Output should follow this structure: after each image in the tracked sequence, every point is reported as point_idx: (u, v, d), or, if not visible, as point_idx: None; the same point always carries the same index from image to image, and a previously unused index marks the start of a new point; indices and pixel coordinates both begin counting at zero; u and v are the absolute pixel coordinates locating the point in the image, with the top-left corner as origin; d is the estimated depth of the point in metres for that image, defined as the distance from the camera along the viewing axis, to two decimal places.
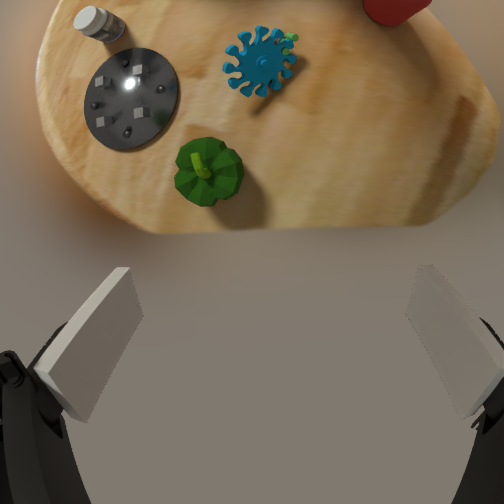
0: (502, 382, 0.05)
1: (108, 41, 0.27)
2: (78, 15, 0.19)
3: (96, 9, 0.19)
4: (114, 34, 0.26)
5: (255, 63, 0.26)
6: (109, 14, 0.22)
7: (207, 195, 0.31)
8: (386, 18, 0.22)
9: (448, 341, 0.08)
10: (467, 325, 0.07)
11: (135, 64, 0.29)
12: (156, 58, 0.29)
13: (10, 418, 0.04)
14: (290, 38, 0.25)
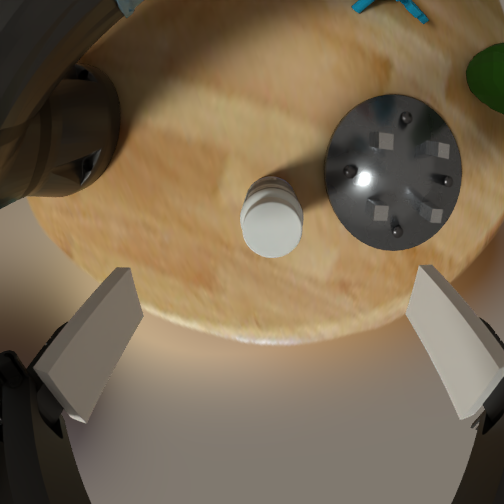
0: (502, 382, 0.05)
1: None
2: (258, 246, 0.19)
3: (261, 203, 0.17)
4: (291, 188, 0.23)
5: None
6: (263, 187, 0.20)
7: None
8: None
9: (448, 341, 0.08)
10: (467, 325, 0.07)
11: (358, 153, 0.22)
12: (356, 117, 0.21)
13: (10, 418, 0.04)
14: None
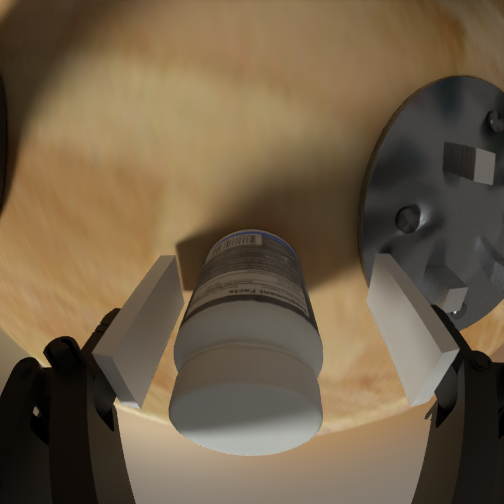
0: (450, 369, 0.06)
1: None
2: (213, 444, 0.06)
3: (210, 381, 0.05)
4: (294, 260, 0.11)
5: None
6: (225, 290, 0.08)
7: None
8: None
9: (398, 326, 0.09)
10: (413, 309, 0.08)
11: (424, 183, 0.10)
12: (424, 112, 0.09)
13: (61, 408, 0.05)
14: None
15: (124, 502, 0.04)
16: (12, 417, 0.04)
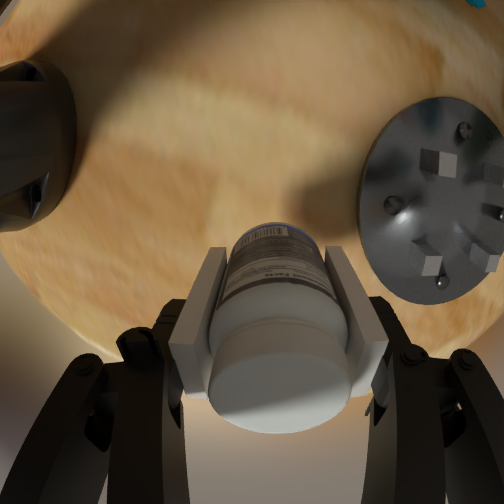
0: (382, 361, 0.07)
1: None
2: (246, 422, 0.07)
3: (254, 353, 0.06)
4: (318, 251, 0.12)
5: None
6: (260, 274, 0.09)
7: None
8: None
9: None
10: (347, 299, 0.09)
11: (405, 179, 0.15)
12: (404, 127, 0.14)
13: (130, 404, 0.05)
14: None
15: None
16: (64, 420, 0.04)
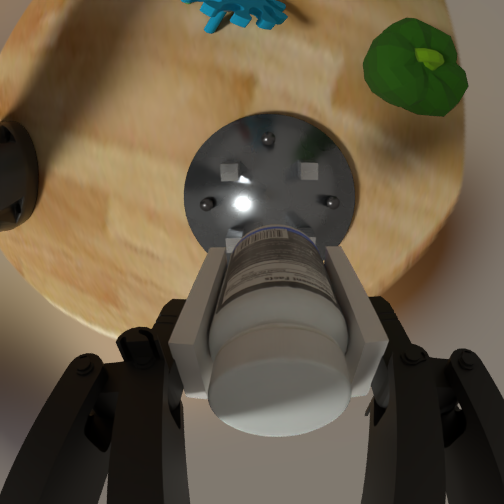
0: (382, 361, 0.07)
1: None
2: (246, 425, 0.07)
3: (254, 358, 0.06)
4: (318, 254, 0.12)
5: None
6: (260, 278, 0.09)
7: (456, 69, 0.12)
8: None
9: None
10: (347, 299, 0.09)
11: (214, 185, 0.24)
12: (210, 149, 0.23)
13: (130, 403, 0.05)
14: None
15: None
16: (64, 420, 0.04)
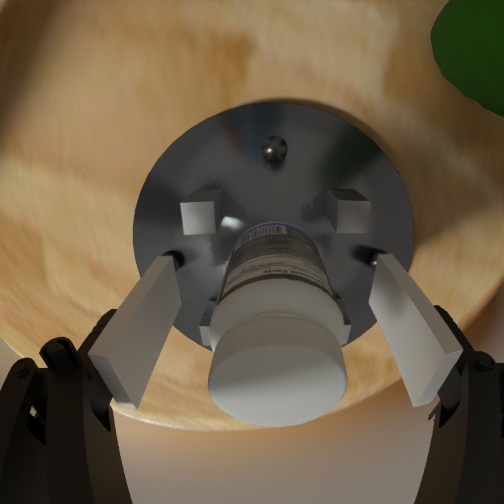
0: (454, 369, 0.06)
1: None
2: (245, 414, 0.07)
3: (252, 345, 0.06)
4: (316, 249, 0.12)
5: None
6: (259, 271, 0.09)
7: None
8: None
9: (401, 327, 0.09)
10: (416, 310, 0.08)
11: (180, 231, 0.14)
12: (169, 168, 0.13)
13: (57, 409, 0.05)
14: None
15: (121, 502, 0.04)
16: (9, 417, 0.04)
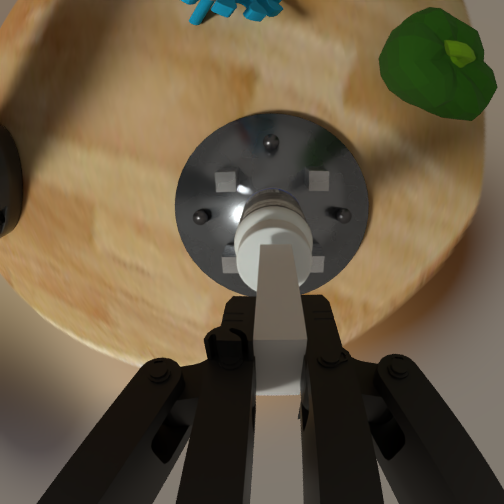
0: (303, 360, 0.07)
1: None
2: (256, 283, 0.15)
3: (261, 229, 0.14)
4: (297, 203, 0.19)
5: None
6: (263, 205, 0.16)
7: (484, 67, 0.09)
8: None
9: None
10: (278, 296, 0.09)
11: (209, 195, 0.21)
12: (204, 153, 0.20)
13: (213, 406, 0.05)
14: None
15: None
16: (130, 433, 0.04)
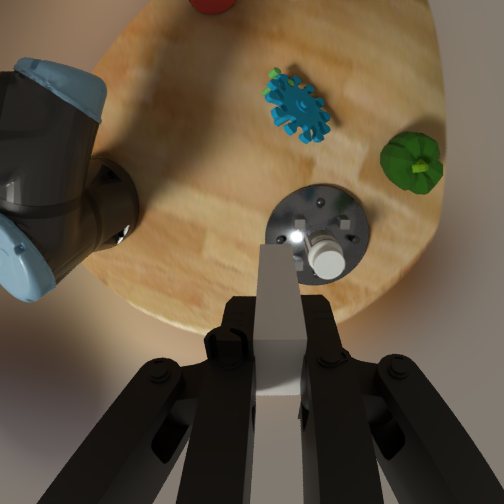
0: (303, 360, 0.07)
1: None
2: (321, 273, 0.33)
3: (325, 251, 0.32)
4: (333, 234, 0.38)
5: (303, 112, 0.29)
6: (321, 238, 0.35)
7: (436, 165, 0.27)
8: None
9: None
10: (278, 296, 0.09)
11: (286, 228, 0.40)
12: (284, 206, 0.38)
13: (213, 406, 0.05)
14: (278, 74, 0.28)
15: None
16: (130, 434, 0.04)
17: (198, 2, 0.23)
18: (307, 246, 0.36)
